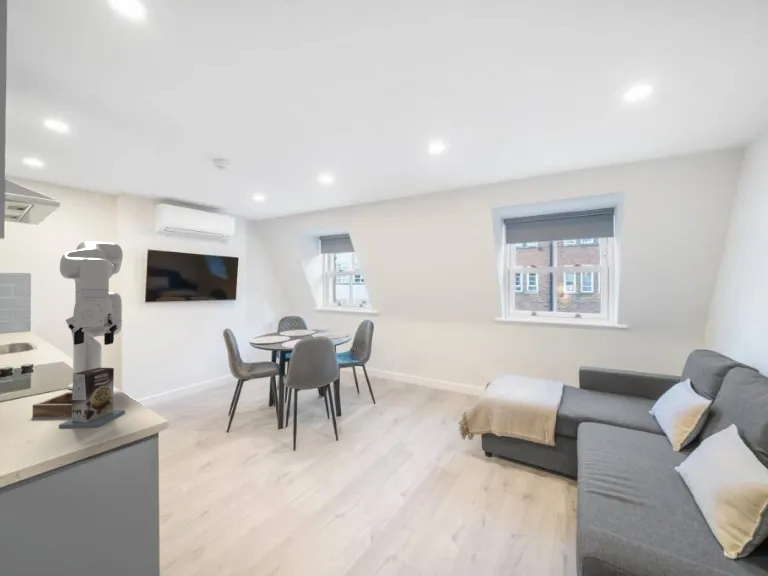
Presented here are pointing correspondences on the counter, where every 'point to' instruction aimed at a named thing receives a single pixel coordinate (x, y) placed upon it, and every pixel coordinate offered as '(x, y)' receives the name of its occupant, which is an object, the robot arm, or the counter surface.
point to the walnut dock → (54, 406)
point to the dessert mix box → (92, 394)
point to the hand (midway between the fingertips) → (93, 344)
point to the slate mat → (93, 423)
